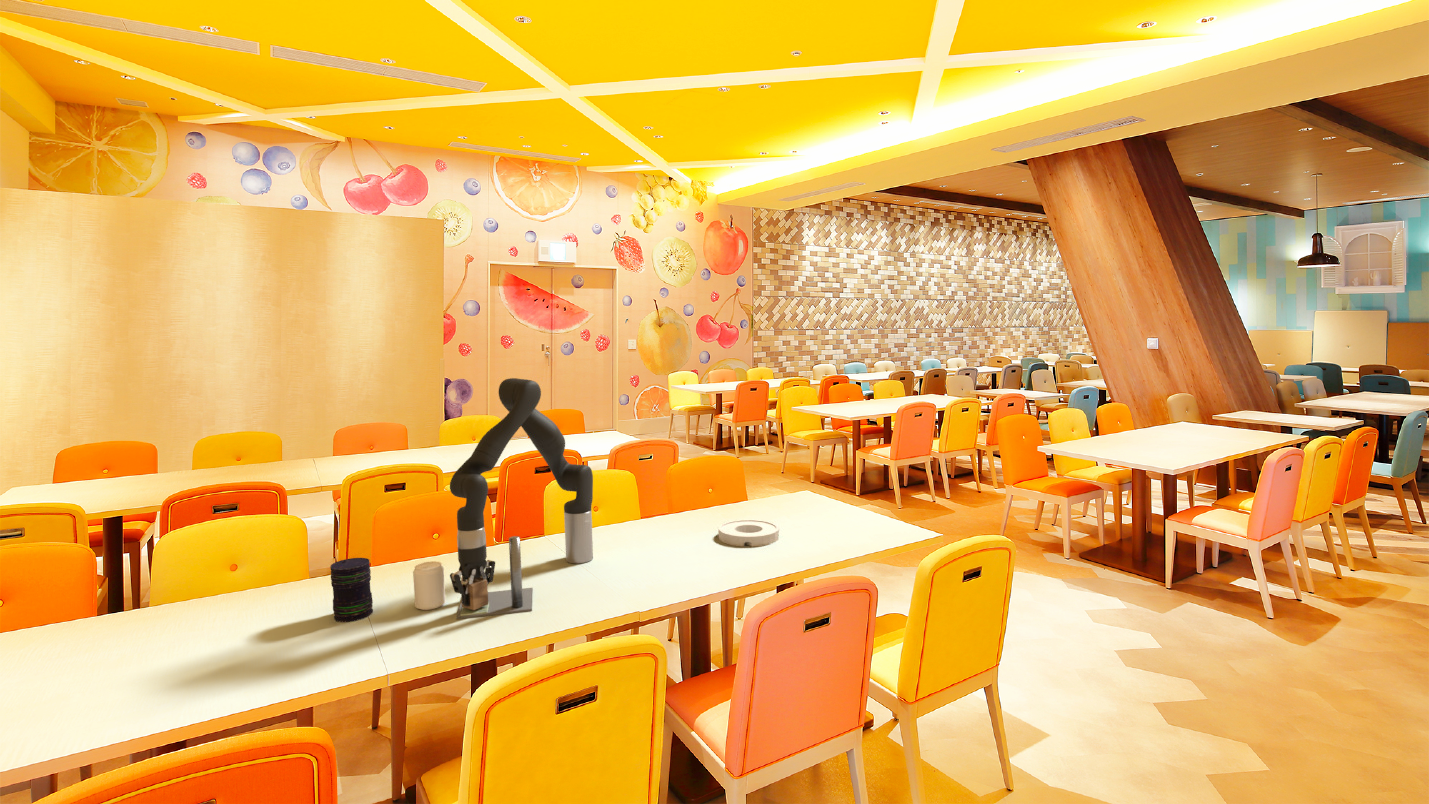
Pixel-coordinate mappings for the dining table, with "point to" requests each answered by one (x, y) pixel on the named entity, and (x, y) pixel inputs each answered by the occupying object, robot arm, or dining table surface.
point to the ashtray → (748, 532)
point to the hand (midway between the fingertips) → (474, 602)
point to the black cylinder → (351, 589)
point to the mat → (500, 604)
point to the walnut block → (477, 594)
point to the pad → (476, 609)
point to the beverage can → (429, 585)
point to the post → (515, 572)
